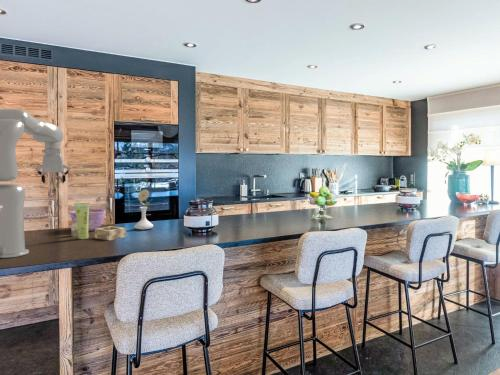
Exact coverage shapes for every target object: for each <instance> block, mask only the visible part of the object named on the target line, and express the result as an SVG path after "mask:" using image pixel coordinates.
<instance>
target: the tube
mask: <svg viewBox="0 0 500 375" xmlns="http://www.w3.org/2000/svg"><path fill="white" fill-rule="evenodd" d="M73 204H74V209H75V210H74V211H76V217H77V226H78V236H77V237H78V240H86V239H89V231H88V217H89V209H90V204H91V203H90V202H79V203H75V202H74V203H73Z"/></svg>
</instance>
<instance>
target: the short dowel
mask: <svg viewBox="0 0 500 375" xmlns="http://www.w3.org/2000/svg"><path fill="white" fill-rule="evenodd" d="M70 226H71V232H70V233H71V237H72V238H73V237H75V238H76V237H78V226H77V223H73V222H72V223H71V224H70Z"/></svg>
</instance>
